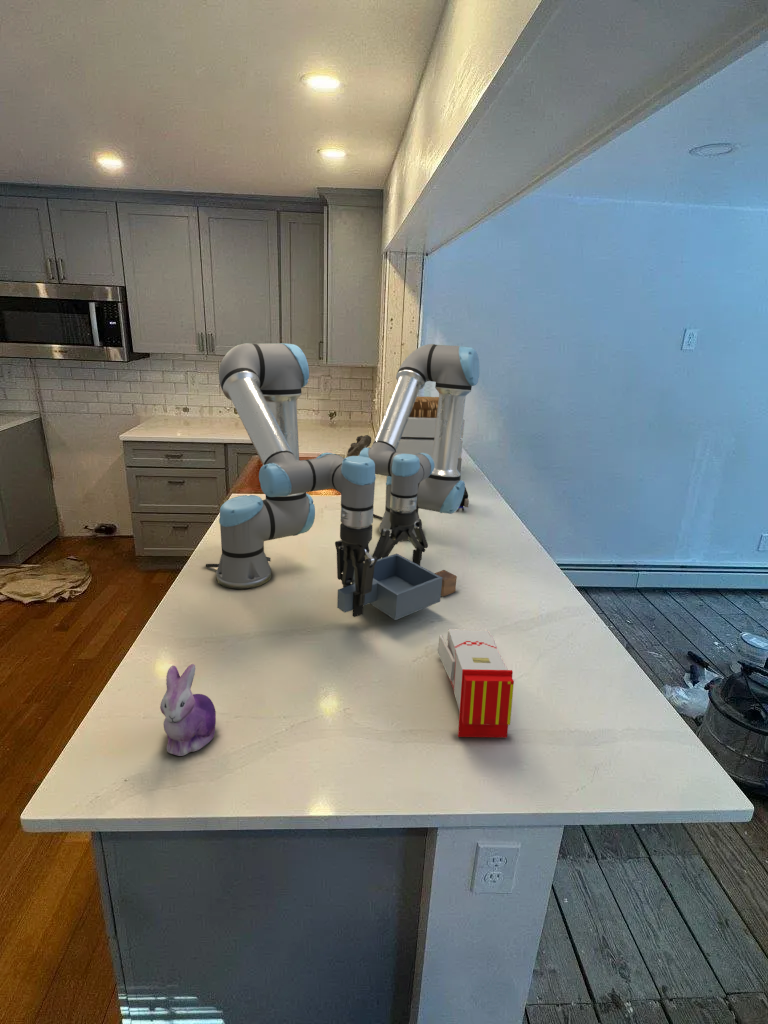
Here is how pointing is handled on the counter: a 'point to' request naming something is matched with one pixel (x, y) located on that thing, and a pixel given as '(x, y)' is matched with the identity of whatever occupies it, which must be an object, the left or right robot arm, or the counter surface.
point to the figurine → (186, 714)
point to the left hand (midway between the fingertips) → (353, 611)
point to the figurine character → (464, 500)
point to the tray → (396, 588)
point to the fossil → (359, 445)
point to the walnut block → (447, 582)
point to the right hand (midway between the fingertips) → (398, 576)
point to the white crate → (423, 429)
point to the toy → (478, 682)
